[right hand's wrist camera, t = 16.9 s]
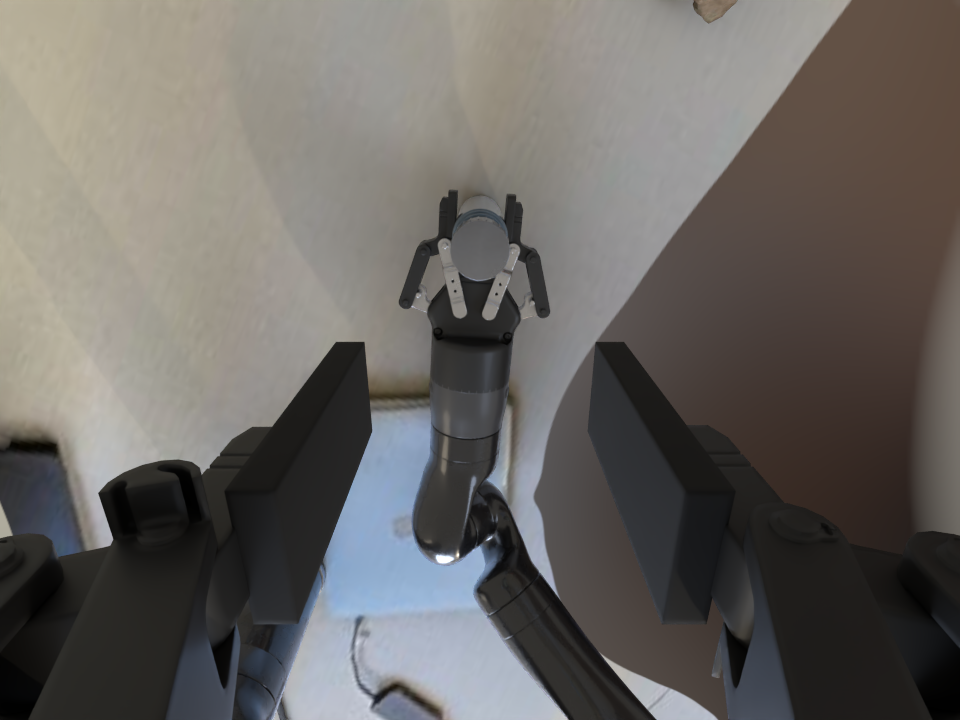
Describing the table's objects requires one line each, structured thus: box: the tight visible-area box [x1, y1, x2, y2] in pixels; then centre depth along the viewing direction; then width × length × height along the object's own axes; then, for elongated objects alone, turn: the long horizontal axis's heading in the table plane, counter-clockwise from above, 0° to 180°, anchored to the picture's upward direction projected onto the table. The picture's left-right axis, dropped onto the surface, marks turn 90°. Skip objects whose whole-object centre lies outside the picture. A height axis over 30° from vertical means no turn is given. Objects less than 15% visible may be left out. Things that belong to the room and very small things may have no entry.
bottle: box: [452, 195, 508, 239], centre depth 42 cm, size 4×4×18 cm
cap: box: [450, 216, 510, 281], centre depth 35 cm, size 4×4×2 cm
